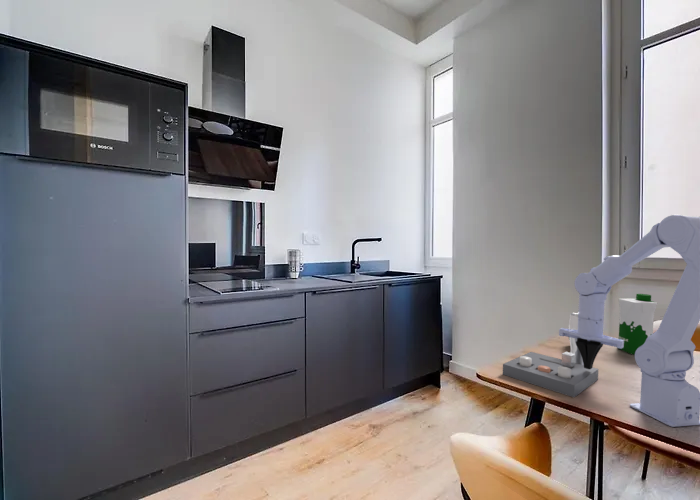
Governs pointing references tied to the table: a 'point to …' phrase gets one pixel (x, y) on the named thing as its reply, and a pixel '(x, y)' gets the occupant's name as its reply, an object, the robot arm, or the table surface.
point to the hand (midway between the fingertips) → (588, 367)
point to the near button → (564, 372)
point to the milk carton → (636, 321)
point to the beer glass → (574, 349)
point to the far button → (525, 361)
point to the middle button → (544, 369)
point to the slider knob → (568, 359)
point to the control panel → (551, 374)
